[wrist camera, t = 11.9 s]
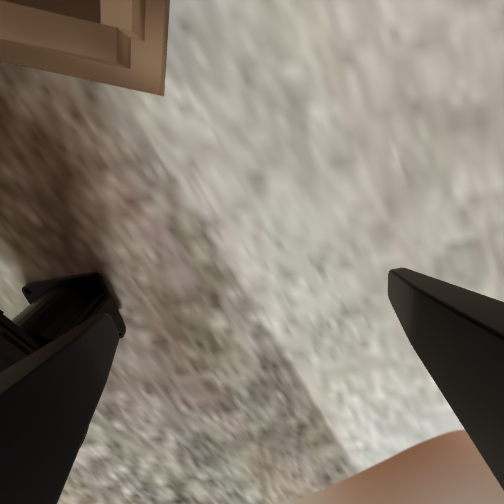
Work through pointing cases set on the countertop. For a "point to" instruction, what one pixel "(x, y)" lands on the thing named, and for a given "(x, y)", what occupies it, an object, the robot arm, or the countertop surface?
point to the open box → (89, 39)
